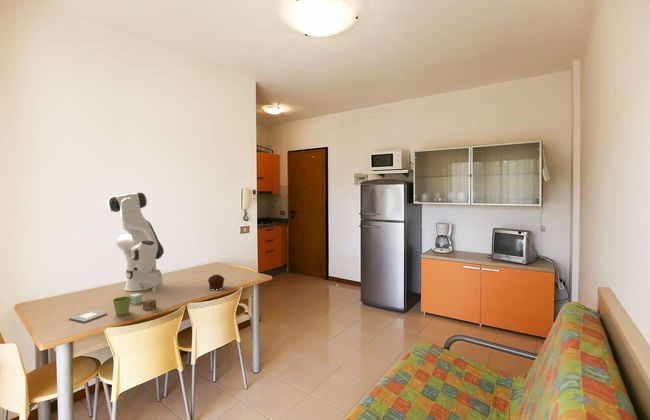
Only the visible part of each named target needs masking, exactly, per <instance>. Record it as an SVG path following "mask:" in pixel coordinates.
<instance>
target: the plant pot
mask: <svg viewBox="0 0 650 420" xmlns="http://www.w3.org/2000/svg"><path fill="white" fill-rule="evenodd" d="M129 296H130V295H129ZM129 296H128V295H127V296H118V297H115V298H113V299H112V303H113V305H114V310H115V315H116V316H121V317H122V316H125V315H128V314H129V312H130V305H131V303H130V301H131V299H132V297H129Z"/></svg>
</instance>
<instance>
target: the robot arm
mask: <svg viewBox="0 0 650 420" xmlns="http://www.w3.org/2000/svg"><path fill="white" fill-rule="evenodd" d="M147 203H148V199H147V196H146V195H145V194H144V193H143V192H136V193H135V192H131V193H130V192H129V193H125V194H120V195H113V196H110V197H109V198H108V201H107V207H108V209H109V210H110V211H111V212H113V213H119V214H120V219H121V224H122V228H123V230H124V231H125V232H127V233H128V234H123V235H122V234H121V235H120V236H119V237H118V238H117V240H116V244H117V245H116V246H117V247H118V248H119V249H120V250H122V252H123V254H124V255H125V256H124V257H125V260H126V271H125V272H126V284H125V287H124V291H126V292H139V291H146V290H149V289H151V291H150V292H151V293H156V292H157V290H156V289H157V287H158V286H161V285H162V284H163V283H164V282H163V275H162V274H163V273H162V271H161V270H160V269H157V260H159V259H161V258H162V257H163V255H164V250H165V249H164V246H163V245H162V243H161V242H160V240H159V238H158V236H157V234H156V232H155V230H154V227H153V226H152V224H151V222H150V221H149V220H147V219H146V218H145V216H144V215H143V213H142V210H141V209H143V208H145V207H146V206H147Z"/></svg>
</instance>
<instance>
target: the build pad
mask: <svg viewBox="0 0 650 420" xmlns="http://www.w3.org/2000/svg"><path fill="white" fill-rule="evenodd" d="M107 314H108V313H107V312H102V311H99V310H94V309H91V310H89V311H88V310H87V311H85V312H83V313H79V314H77V315H74V316H71V317H70V316H69V320H71V321H74V322H79V323H82V324H86V323H88V321H89V322H91V321H93V320H97V319H100V318H102V317H105V316H108V315H107ZM96 318H97V319H96Z"/></svg>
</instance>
